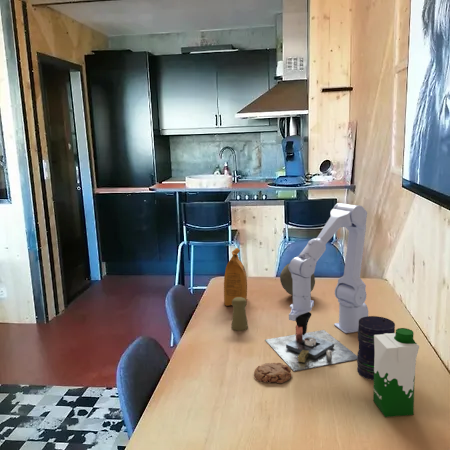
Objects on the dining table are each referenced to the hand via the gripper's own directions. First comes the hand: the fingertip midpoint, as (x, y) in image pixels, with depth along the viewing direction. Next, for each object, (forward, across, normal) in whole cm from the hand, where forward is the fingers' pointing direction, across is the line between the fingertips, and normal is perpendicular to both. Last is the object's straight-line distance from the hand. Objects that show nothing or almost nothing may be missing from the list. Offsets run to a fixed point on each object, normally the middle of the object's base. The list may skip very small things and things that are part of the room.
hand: (301, 333), depth 147 cm
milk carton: (+3, +21, +34) cm, 40 cm away
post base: (+3, +2, +4) cm, 6 cm away
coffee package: (+4, -21, -40) cm, 45 cm away
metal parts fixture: (+3, +5, +4) cm, 7 cm away
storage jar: (+4, +6, +26) cm, 26 cm away
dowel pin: (+3, +6, +12) cm, 14 cm away
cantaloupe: (+4, -39, -20) cm, 44 cm away
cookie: (+4, +23, +2) cm, 23 cm away
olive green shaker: (+3, 0, -24) cm, 25 cm away
